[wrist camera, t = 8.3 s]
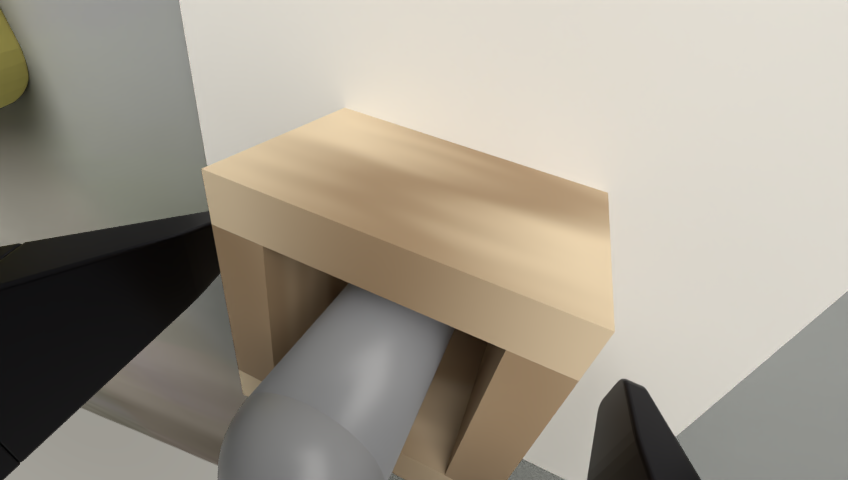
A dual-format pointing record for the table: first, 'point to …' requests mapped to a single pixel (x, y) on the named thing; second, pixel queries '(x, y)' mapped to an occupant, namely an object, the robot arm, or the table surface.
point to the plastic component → (11, 65)
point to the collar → (421, 273)
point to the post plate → (564, 157)
